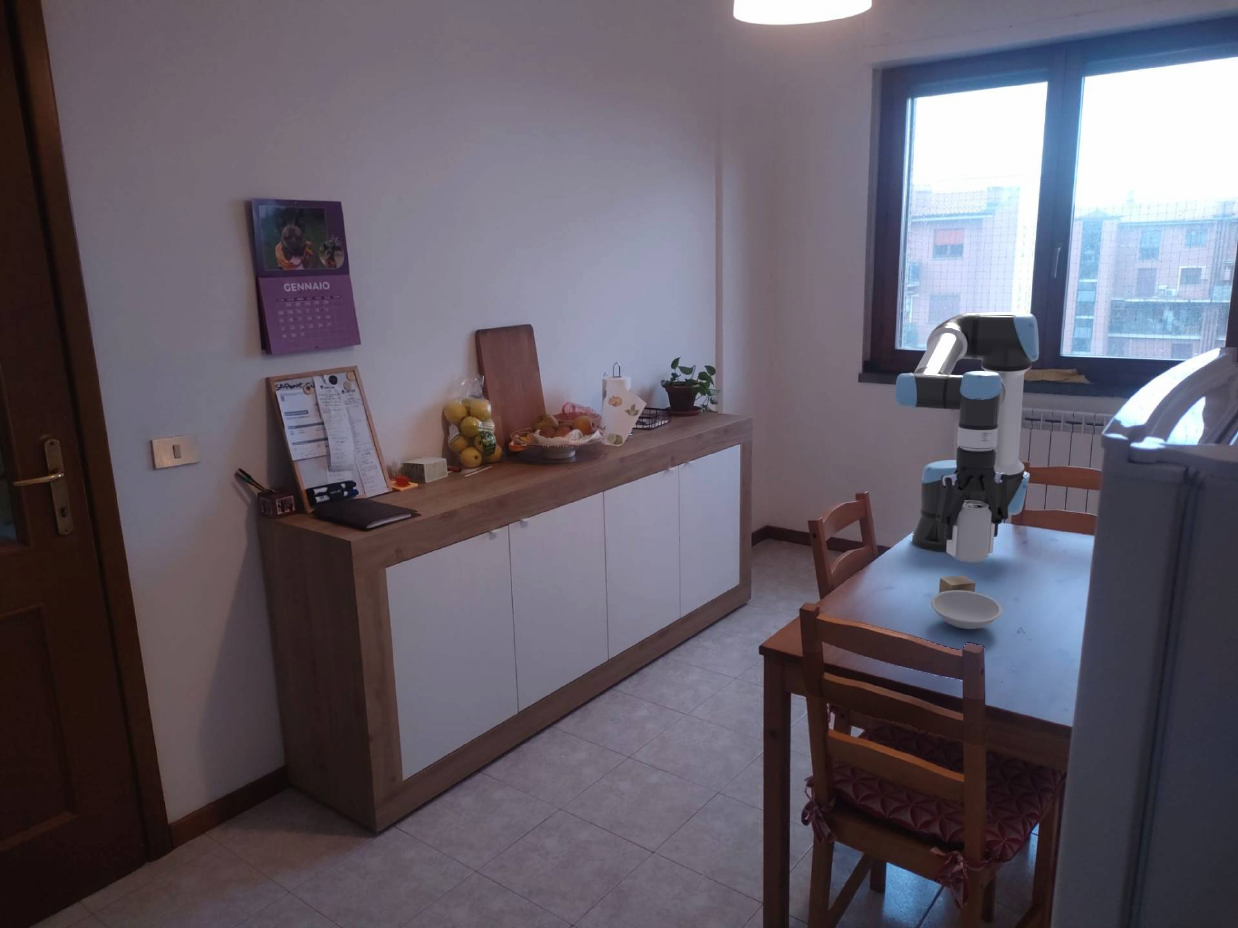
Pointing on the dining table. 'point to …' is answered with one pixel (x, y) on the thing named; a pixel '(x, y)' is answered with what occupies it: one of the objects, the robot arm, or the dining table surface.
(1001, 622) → the dining table surface
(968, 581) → the walnut block
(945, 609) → the dish
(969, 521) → the can
